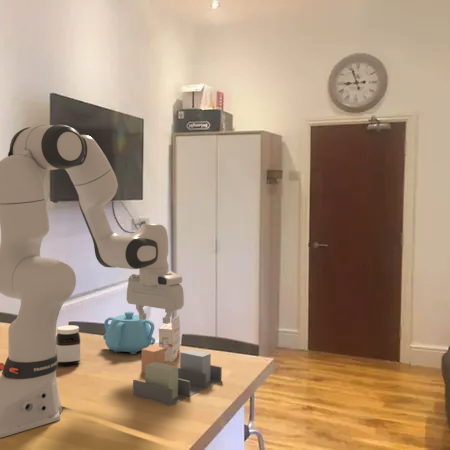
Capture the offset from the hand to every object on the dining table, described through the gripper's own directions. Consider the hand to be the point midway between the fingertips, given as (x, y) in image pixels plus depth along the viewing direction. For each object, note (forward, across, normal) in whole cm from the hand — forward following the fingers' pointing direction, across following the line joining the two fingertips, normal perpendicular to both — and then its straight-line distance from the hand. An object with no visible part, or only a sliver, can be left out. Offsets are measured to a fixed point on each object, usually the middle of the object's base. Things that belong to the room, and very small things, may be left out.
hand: (154, 321), depth 165 cm
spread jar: (+16, -32, -9) cm, 37 cm away
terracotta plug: (+16, 0, -1) cm, 16 cm away
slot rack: (+16, +15, -8) cm, 24 cm away
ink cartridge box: (+17, -5, +13) cm, 22 cm away
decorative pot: (+17, -25, +15) cm, 34 cm away
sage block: (+15, +15, -15) cm, 26 cm away
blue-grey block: (+15, +15, 0) cm, 22 cm away
